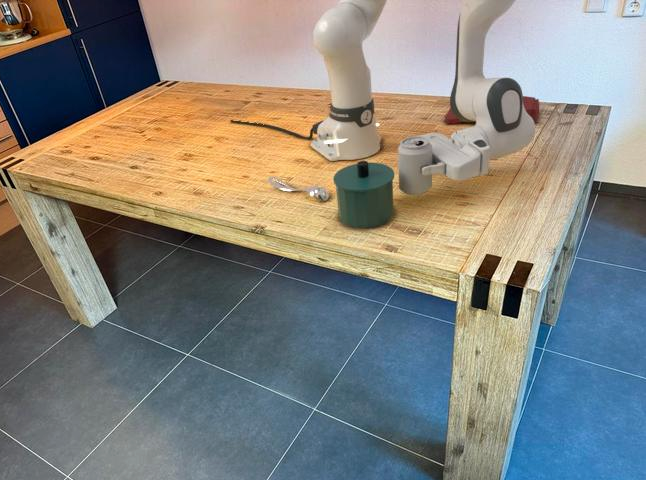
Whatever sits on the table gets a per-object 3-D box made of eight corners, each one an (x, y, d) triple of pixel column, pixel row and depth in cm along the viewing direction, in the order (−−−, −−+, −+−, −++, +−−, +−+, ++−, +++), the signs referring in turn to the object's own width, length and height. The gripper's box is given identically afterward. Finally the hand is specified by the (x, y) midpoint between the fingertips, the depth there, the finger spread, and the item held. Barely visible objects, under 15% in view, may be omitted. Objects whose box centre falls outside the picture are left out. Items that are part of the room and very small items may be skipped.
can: (429, 197, 114) (430, 147, 107) (396, 196, 117) (394, 147, 110) (434, 181, 120) (434, 133, 113) (402, 181, 123) (400, 134, 116)
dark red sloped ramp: (445, 135, 155) (535, 125, 142) (443, 119, 153) (535, 108, 140) (453, 120, 164) (539, 109, 150) (451, 105, 161) (539, 93, 148)
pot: (329, 222, 118) (325, 185, 113) (356, 197, 125) (353, 162, 120) (376, 233, 111) (374, 194, 106) (402, 206, 119) (401, 169, 113)
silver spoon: (262, 174, 135) (274, 167, 138) (263, 186, 138) (275, 179, 140) (320, 194, 124) (331, 186, 126) (321, 207, 126) (332, 198, 129)
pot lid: (322, 188, 113) (320, 171, 111) (353, 163, 121) (351, 147, 118) (375, 198, 105) (374, 181, 103) (404, 171, 113) (404, 154, 111)
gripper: (442, 122, 123) (390, 136, 121) (494, 149, 107) (435, 167, 105) (441, 146, 127) (391, 161, 125) (492, 177, 110) (435, 194, 108)
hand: (411, 164), depth 114 cm, fingers closed on can, 7 cm apart
